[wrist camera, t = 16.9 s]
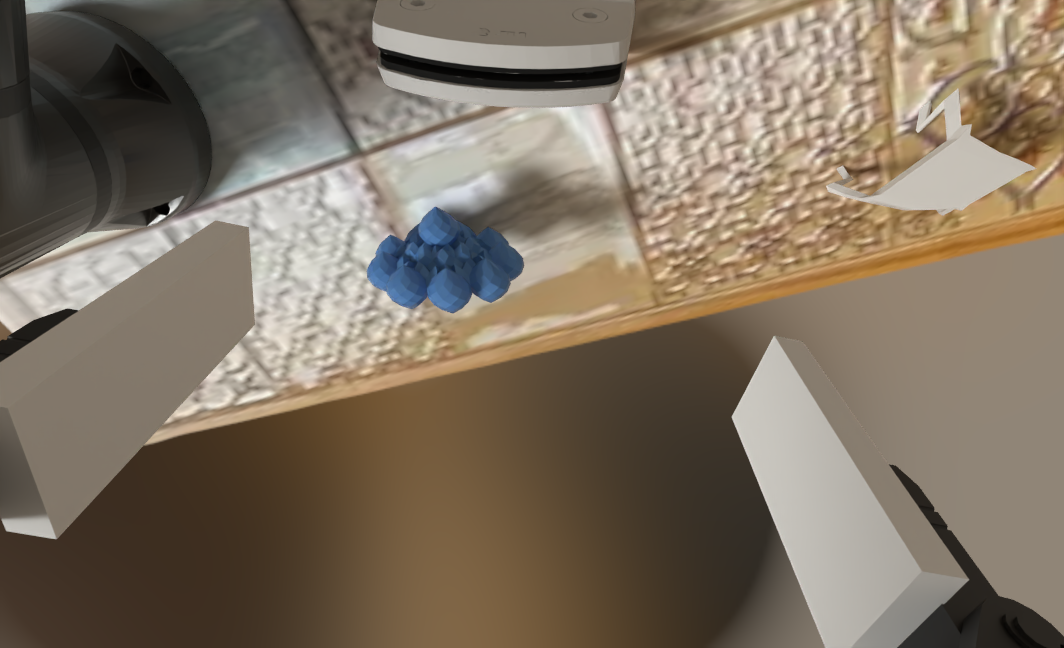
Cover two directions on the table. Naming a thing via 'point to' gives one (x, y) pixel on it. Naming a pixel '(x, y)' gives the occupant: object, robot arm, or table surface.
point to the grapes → (444, 264)
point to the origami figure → (943, 169)
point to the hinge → (505, 50)
